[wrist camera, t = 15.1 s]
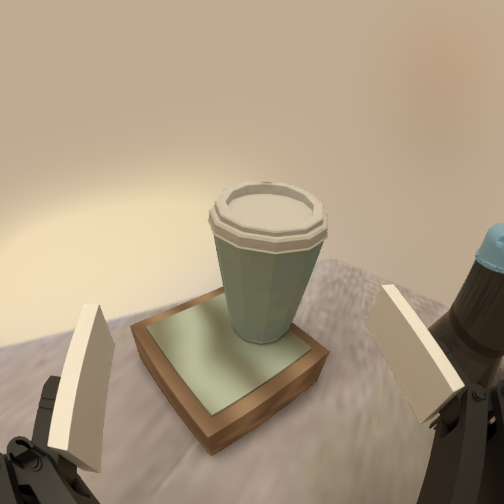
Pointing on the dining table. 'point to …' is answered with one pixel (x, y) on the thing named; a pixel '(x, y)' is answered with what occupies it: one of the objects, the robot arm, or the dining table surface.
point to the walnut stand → (223, 368)
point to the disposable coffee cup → (266, 253)
